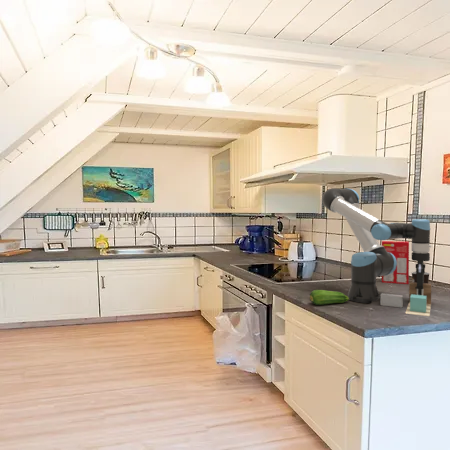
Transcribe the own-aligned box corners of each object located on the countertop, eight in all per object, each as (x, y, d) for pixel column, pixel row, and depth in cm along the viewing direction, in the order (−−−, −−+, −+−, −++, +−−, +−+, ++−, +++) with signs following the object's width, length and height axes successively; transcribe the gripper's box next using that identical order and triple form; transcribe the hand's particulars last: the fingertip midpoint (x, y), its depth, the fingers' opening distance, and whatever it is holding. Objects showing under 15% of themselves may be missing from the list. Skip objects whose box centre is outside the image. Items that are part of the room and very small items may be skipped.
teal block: (425, 312, 153) (426, 298, 153) (410, 310, 157) (410, 297, 156) (426, 309, 159) (426, 295, 158) (411, 307, 162) (411, 294, 161)
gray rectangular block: (397, 320, 147) (398, 305, 147) (374, 317, 152) (374, 303, 152) (402, 308, 164) (402, 295, 164) (381, 305, 169) (381, 293, 169)
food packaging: (408, 282, 219) (408, 241, 218) (408, 284, 214) (409, 242, 213) (381, 280, 225) (382, 241, 224) (381, 282, 221) (381, 241, 219)
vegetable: (309, 287, 174) (346, 285, 178) (306, 298, 177) (343, 296, 181) (315, 297, 168) (354, 294, 172) (311, 308, 171) (350, 306, 175)
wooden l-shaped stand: (429, 318, 148) (429, 294, 148) (405, 315, 153) (405, 292, 153) (431, 304, 169) (431, 283, 168) (409, 302, 174) (409, 282, 173)
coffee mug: (413, 288, 203) (413, 270, 203) (430, 290, 198) (430, 272, 197) (408, 292, 194) (408, 274, 194) (426, 294, 189) (426, 275, 188)
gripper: (429, 254, 160) (428, 306, 161) (430, 250, 174) (429, 298, 175) (410, 253, 164) (409, 304, 165) (412, 249, 178) (412, 296, 179)
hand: (420, 301), depth 170 cm, fingers closed on wooden l-shaped stand, 3 cm apart
